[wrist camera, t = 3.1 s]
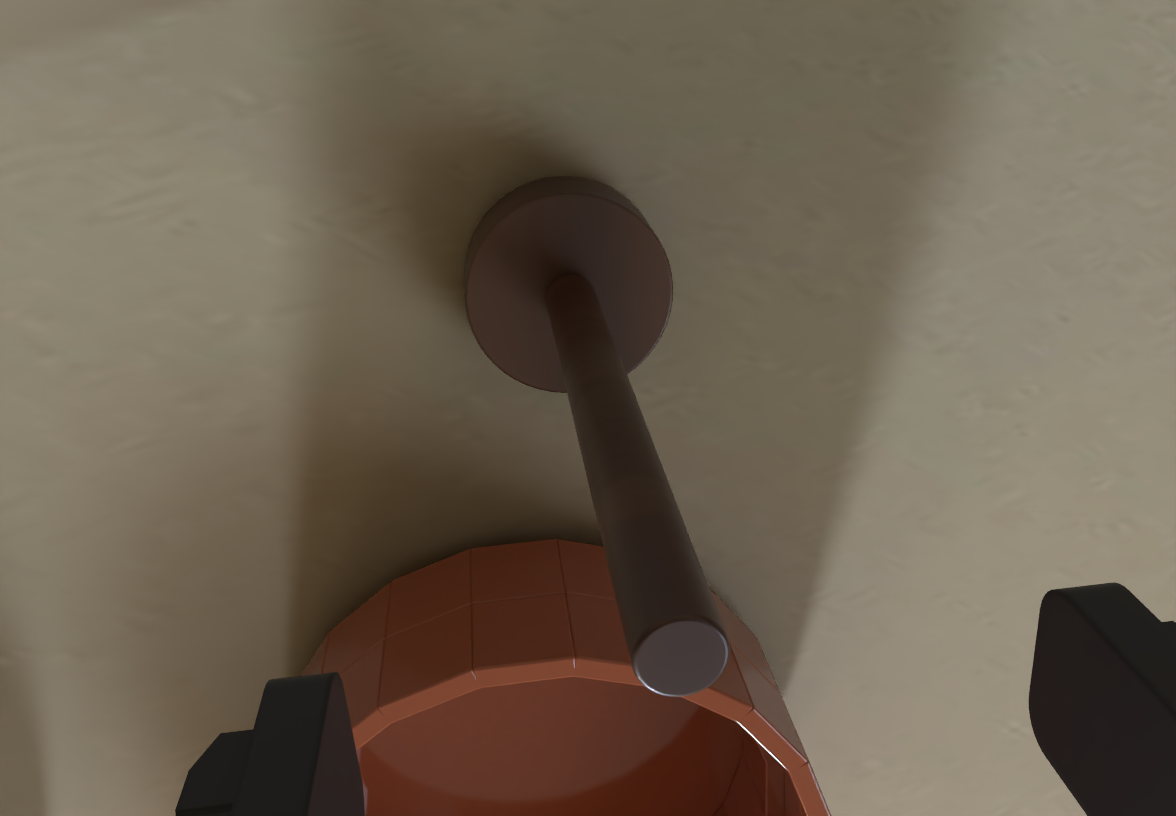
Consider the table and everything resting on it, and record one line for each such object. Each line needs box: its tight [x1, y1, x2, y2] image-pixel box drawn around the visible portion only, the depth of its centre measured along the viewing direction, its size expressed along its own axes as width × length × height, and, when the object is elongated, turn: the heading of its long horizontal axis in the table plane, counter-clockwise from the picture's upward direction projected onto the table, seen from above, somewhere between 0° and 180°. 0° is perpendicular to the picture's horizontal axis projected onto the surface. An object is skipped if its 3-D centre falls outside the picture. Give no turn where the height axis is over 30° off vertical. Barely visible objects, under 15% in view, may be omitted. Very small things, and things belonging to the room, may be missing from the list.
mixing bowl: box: [301, 539, 831, 816], centre depth 30 cm, size 15×15×6 cm
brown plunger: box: [465, 176, 730, 697], centre depth 20 cm, size 5×5×16 cm
